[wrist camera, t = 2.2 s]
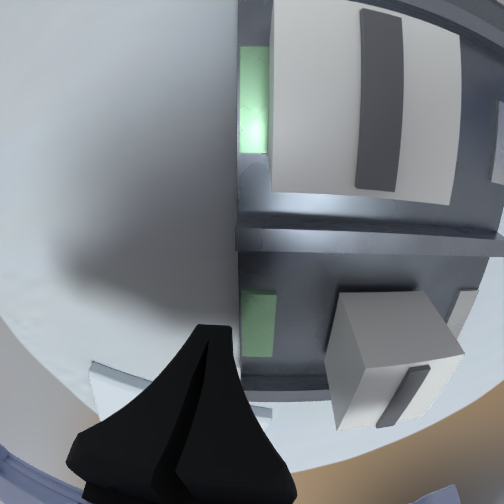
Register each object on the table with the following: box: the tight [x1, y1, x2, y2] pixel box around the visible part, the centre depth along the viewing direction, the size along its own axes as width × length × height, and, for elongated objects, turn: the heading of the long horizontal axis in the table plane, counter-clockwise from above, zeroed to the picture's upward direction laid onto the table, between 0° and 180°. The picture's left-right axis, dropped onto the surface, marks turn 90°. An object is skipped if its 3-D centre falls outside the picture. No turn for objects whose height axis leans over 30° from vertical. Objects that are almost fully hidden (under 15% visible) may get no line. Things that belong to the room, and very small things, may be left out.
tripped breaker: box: [324, 291, 465, 431], centre depth 10 cm, size 4×4×4 cm
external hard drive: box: [89, 362, 272, 431], centre depth 18 cm, size 2×8×12 cm
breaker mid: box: [268, 0, 461, 205], centre depth 6 cm, size 4×4×4 cm
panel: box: [235, 0, 504, 402], centre depth 8 cm, size 12×27×2 cm, turn 0°
